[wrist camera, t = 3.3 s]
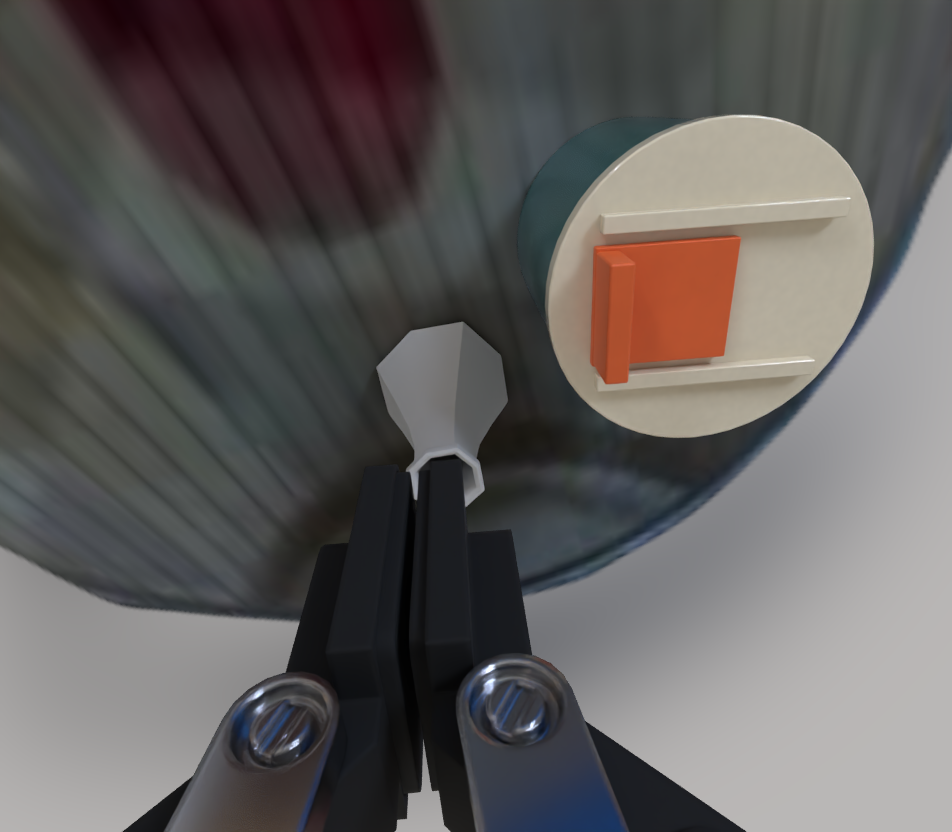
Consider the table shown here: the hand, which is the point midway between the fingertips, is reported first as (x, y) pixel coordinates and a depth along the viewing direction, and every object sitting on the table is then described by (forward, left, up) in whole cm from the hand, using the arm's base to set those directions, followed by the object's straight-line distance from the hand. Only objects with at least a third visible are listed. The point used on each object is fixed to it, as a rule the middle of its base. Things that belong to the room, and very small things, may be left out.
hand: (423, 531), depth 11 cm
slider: (+8, 0, -11) cm, 14 cm away
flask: (0, -7, -22) cm, 23 cm away
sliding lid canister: (+10, 0, -22) cm, 24 cm away
